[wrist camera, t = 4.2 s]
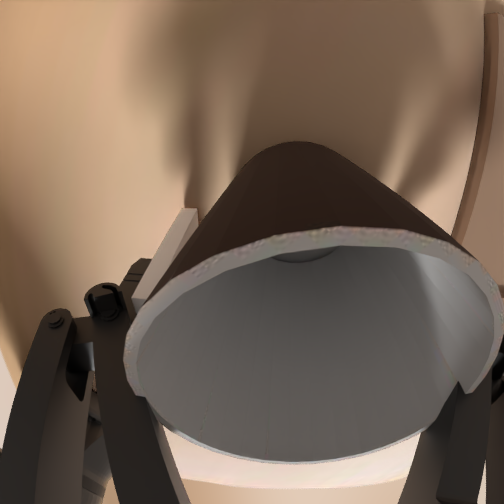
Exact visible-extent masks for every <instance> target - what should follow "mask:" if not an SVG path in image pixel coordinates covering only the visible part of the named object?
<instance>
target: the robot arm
mask: <svg viewBox="0 0 504 504" xmlns="http://www.w3.org/2000/svg"><path fill="white" fill-rule="evenodd" d="M198 226H199V225H198V211H197V208H182V209H181V211H180V212H179V214H178V216H177V217H176V219H175V221H174V222H173V224H172V226H171V227H170V229H169V231H168V233H167V234H166V236H165V238H164V239H163V241H162V243H161V245H160V246H159V248H158V250H157V252H156V253H155V255H154V257H153V259H145V258H141V259H139V260H138V261H137V262H135V263H134V264H133V265H132V266H131V268H130V269H129V271H128V273H127V275H126V276H125V277H124V279H123V281H122V282H121V284H120V286H118V285H116V284H114V283H101V284H98V285H96V286H94V287H92V288H91V289H89V291H88V292H87V293H86V294H85V297H84V301H85V303H86V306H87V308H88V311H89V313H90V316H88V317H81V318H73V317H72V315H71V313H70V311H68V310H67V309H61V308H60V309H55V310H53V311H51V312H49V313H47V314H46V315H45V316H44V317H43V319H42V320H41V323H40V325H39V327H38V330H37V333H36V335H35V338H34V340H33V343H32V346H31V348H30V351H29V354H28V357H27V360H26V363H25V366H24V369H23V372H22V375H21V378H20V381H19V384H18V388H17V391H16V395H15V398H14V401H13V405H12V409H11V413H10V417H9V421H8V425H7V429H6V434H5V439H4V443H3V448H2V449H1V448H0V504H102V501H103V497H104V493H105V490H106V486H107V483H108V481H109V480H110V479H111V477H113V481H114V485H115V489H116V492H117V496H118V500H119V503H120V504H191V503H190V500H189V498H188V495H187V493H186V490H185V488H184V485H183V483H182V481H181V477H180V475H179V472H178V469H177V467H176V464H175V461H174V458H173V456H172V453H171V450H170V447H169V444H168V441H167V438H166V435H165V432H164V428H163V425H162V424H161V423H160V422H159V421H157V419H156V417H155V415H154V413H153V411H152V409H151V407H150V405H149V403H148V401H147V399H146V397H143V396H137V395H135V394H134V392H133V390H132V389H131V387H130V385H129V383H128V381H127V377H126V372H125V367H124V362H123V354H124V347H125V340H126V334H127V332H128V330H129V329H130V327H131V325H132V323H133V321H134V319H135V317H136V316H137V314H138V312H139V310H140V308H141V307H142V305H143V304H144V302H145V301H146V299H147V298H148V296H149V295H150V294H151V292H152V291H153V289H154V288H155V286H156V285H157V283H158V282H159V280H160V279H161V278H162V276H163V275H164V273H165V272H166V270H167V269H168V268H169V266H170V265H171V263H172V262H173V260H174V259H175V258H176V256H177V255H178V253H179V252H180V251H181V249H182V248H183V246H184V245H185V244H186V242H187V241H188V240H189V238H190V237H191V235H192V234H193V233H194V231H195V230H196V229H197V227H198ZM94 373H95V378H96V387H97V394H96V393H95V392H93V391H92V384H93V378H94ZM485 460H486V504H504V335H503V339H502V342H501V345H500V349H499V352H498V355H497V357H496V359H495V361H494V362H493V364H492V366H491V368H490V370H489V372H488V373H487V375H486V376H485V378H484V379H483V380H482V382H481V383H480V384H479V385H478V387H477V388H476V389H475V390H474V392H472V393H468V394H465V392H464V390H463V388H462V386H461V384H460V383H459V381H458V382H457V384H456V385H455V387H454V389H453V390H452V392H451V394H450V395H449V397H448V399H447V400H446V402H445V403H444V405H443V407H442V409H441V411H440V413H439V415H438V417H437V419H436V420H435V421H434V422H433V423H432V424H431V425H430V426H429V427H428V428H427V429H426V430H425V431H423V432H421V435H420V438H419V442H418V445H417V449H416V452H415V456H414V459H413V462H412V465H411V468H410V471H409V474H408V477H407V480H406V483H405V486H404V488H403V491H402V494H401V497H400V499H399V502H398V504H477V499H478V494H479V490H480V486H481V481H482V476H483V470H484V464H485Z"/></svg>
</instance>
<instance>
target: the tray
mask: <svg viewBox="0 0 504 504" xmlns="http://www.w3.org/2000/svg"><path fill="white" fill-rule="evenodd" d="M484 24H485V48H484V72H483V85H482V95H481V104H480V112H479V120H478V126H477V133H476V138H475V144H474V149H473V155H472V159H471V164H470V169H469V173H468V178H467V182H466V186H465V190H464V194H463V198H462V201H461V205H460V209H459V212H458V215H457V219H456V222H455V225H454V229H453V232H452V235H451V237H452V238H453V239H455V240H456V241H457V242H458V243H459V244H460V245H462V246H463V247H464V248H465V249H466V250H467V251H468V252H469V253H471V254H472V255H473V256H474V257H475V258H476V259H477V260H478V261H479V262H480V263H481V264H482V265H483V267H484V268H485V269H486V270H487V272H488V273H489V274H490V276H491V277H492V278H493V280H494V281H495V282H496V284H497V285H498V288H499V291H500V294H501V298H502V301H503V304H504V16H503V15H501V14H499V13H491V14H484Z"/></svg>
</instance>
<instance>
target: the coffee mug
mask: <svg viewBox="0 0 504 504" xmlns="http://www.w3.org/2000/svg"><path fill="white" fill-rule="evenodd" d="M503 335H504V304H503V301H502V298H501V294H500V291H499V288H498V285H497V284H496V282H495V281H494V280H493V278H492V277H491V276H490V274H489V273H488V272H487V270H486V269H485V268H484V267H483V265H482V264H481V263H480V262H479V261H478V260H477V259H476V258H475V257H474V256H473V255H472V254H471V253H469V252H468V251H467V250H466V249H465V248H464V247H463V246H462V245H460V244H459V243H458V242H457V241H456V240H455V239H453V238H452V237H451V236H450V235H449V234H448V233H446V232H445V231H444V230H443V229H442V228H440V227H439V226H438V225H437V224H435V223H434V222H433V221H432V220H431V219H429V218H428V217H427V216H425V215H424V214H423V213H422V212H420V211H419V210H418V209H417V208H415V207H414V206H413V205H411V204H410V203H409V202H407V201H406V200H405V199H403V198H402V197H401V196H399V195H398V194H397V193H395V192H394V191H393V190H391V189H390V188H388V187H387V186H386V185H384V184H383V183H381V182H380V181H378V180H377V179H376V178H374V177H373V176H371V175H370V174H368V173H367V172H365V171H364V170H362V169H361V168H359V167H358V166H356V165H355V164H353V163H352V162H350V161H349V160H347V159H346V158H344V157H343V156H341V155H340V154H338V153H336V152H335V151H333V150H331V149H329V148H327V147H324V146H322V145H318V144H314V143H310V142H295V141H294V142H288V143H281V144H278V145H275V146H272V147H270V148H267V149H265V150H264V151H262V152H260V153H259V154H257V155H255V156H254V157H253V158H252V159H251V160H250V161H249V162H248V163H247V164H246V165H245V166H244V167H243V168H242V170H241V171H240V172H239V173H238V175H237V176H236V177H235V178H234V180H233V181H232V182H231V184H230V185H229V186H228V187H227V189H226V190H225V191H224V193H223V194H222V195H221V197H220V198H219V199H218V201H217V202H216V203H215V205H214V206H213V207H212V208H211V210H210V211H209V212H208V214H207V215H206V216H205V218H204V219H203V221H202V222H201V223H200V225H199V226H198V227H197V229H196V230H195V231H194V233H193V234H192V235H191V237H190V238H189V240H188V241H187V242H186V244H185V245H184V246H183V248H182V249H181V251H180V252H179V253H178V255H177V256H176V258H175V259H174V260H173V262H172V263H171V265H170V266H169V268H168V269H167V270H166V272H165V273H164V275H163V276H162V278H161V279H160V280H159V282H158V283H157V285H156V286H155V288H154V289H153V291H152V292H151V294H150V295H149V296H148V298H147V299H146V301H145V302H144V304H143V305H142V307H141V308H140V310H139V312H138V314H137V316H136V317H135V319H134V321H133V323H132V325H131V327H130V329H129V330H128V332H127V334H126V340H125V347H124V354H123V362H124V367H125V372H126V377H127V381H128V383H129V385H130V387H131V389H132V390H133V392H134V394H135V395H137V396H143V397H146V399H147V401H148V403H149V405H150V407H151V409H152V411H153V413H154V415H155V417H156V419H157V421H159V422H160V423H161V424H162V425H164V426H165V427H166V428H167V429H169V430H170V431H172V432H173V433H175V434H177V435H179V436H180V437H182V438H184V439H186V440H188V441H189V442H191V443H194V444H196V445H198V446H201V447H203V448H206V449H208V450H211V451H213V452H217V453H220V454H224V455H227V456H231V457H234V458H239V459H244V460H250V461H256V462H262V463H274V464H316V463H325V462H333V461H340V460H345V459H350V458H355V457H359V456H363V455H367V454H370V453H373V452H377V451H380V450H383V449H386V448H389V447H391V446H394V445H396V444H398V443H401V442H403V441H405V440H408V439H410V438H412V437H414V436H416V435H417V434H419V433H421V432H423V431H425V430H426V429H427V428H428V427H429V426H430V425H431V424H432V423H433V422H434V421H435V420H436V419H437V417H438V415H439V413H440V411H441V409H442V407H443V405H444V403H445V402H446V400H447V399H448V397H449V395H450V394H451V392H452V390H453V389H454V387H455V385H456V384H457V382H458V381H459V383H460V384H461V386H462V388H463V390H464V392H465V394H468V393H472V392H474V390H475V389H476V388H477V387H478V385H479V384H480V383H481V382H482V380H483V379H484V378H485V376H486V375H487V373H488V372H489V370H490V368H491V366H492V364H493V362H494V361H495V359H496V357H497V355H498V352H499V349H500V345H501V342H502V339H503Z"/></svg>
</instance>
